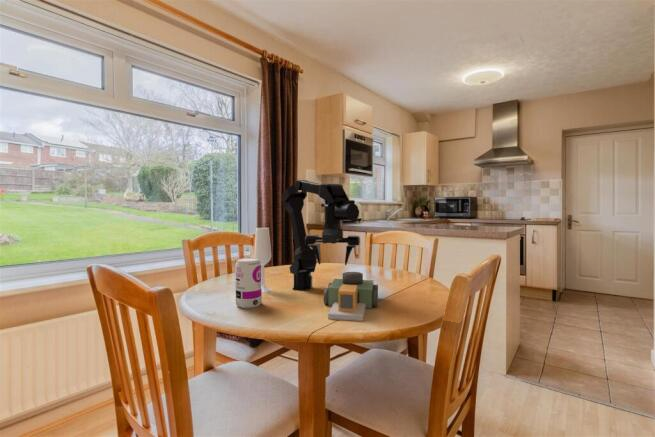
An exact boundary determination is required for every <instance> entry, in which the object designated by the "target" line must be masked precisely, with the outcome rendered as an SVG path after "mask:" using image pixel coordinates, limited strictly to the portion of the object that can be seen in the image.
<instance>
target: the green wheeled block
mask: <svg viewBox="0 0 655 437" xmlns="http://www.w3.org/2000/svg"><path fill="white" fill-rule="evenodd" d="M341 285H357V307H356V310H355V312H347V311H338V291H339V289H340V287H341ZM378 298H379V285H378V284H375V283H374V280H373V279H364V274H363V272H360V271H359V272H358V271H346V272H343V273H342V278H334V280H332V281H331V282H329V283H328V287H327V288H326V287H325V288H324V292H323V303H324V305H326V304H327V305H328V306H329V307H331V308H330V310H329V311H328V313H327V314H328V315H327V317H328V318H327V319H328V320H341V321H357V322H364V317H365V312H366V309H372V308H373V307H376V308H377V307H378V300H379V299H378Z"/></svg>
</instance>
